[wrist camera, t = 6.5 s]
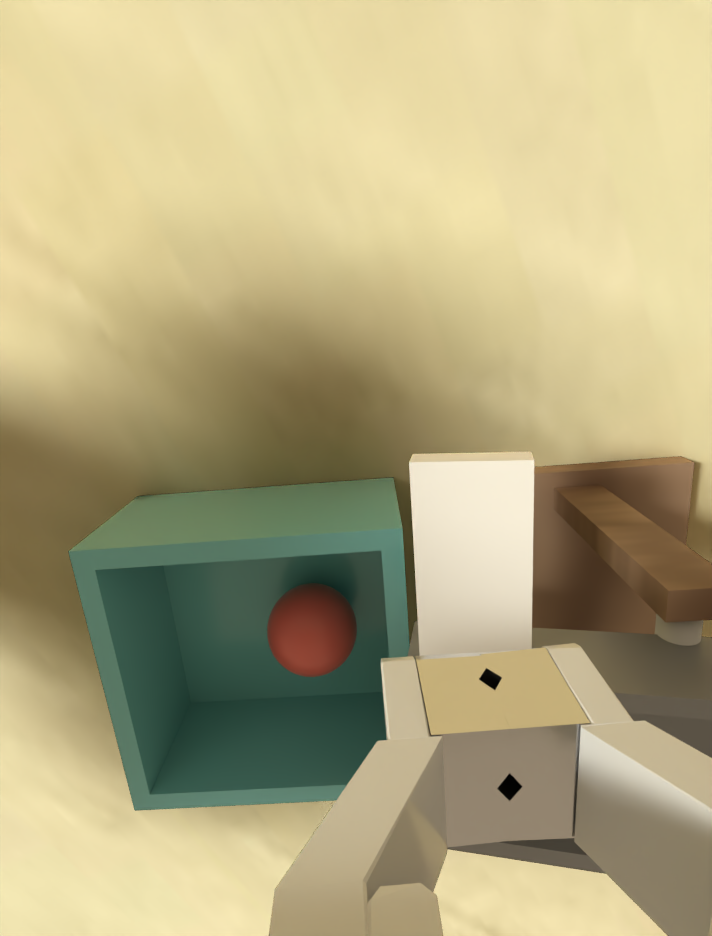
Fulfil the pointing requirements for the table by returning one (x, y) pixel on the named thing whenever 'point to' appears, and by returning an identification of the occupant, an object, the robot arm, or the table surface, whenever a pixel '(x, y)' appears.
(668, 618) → the lever stand
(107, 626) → the cup
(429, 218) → the table surface
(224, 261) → the table surface
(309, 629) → the ball
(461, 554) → the tilting lever
